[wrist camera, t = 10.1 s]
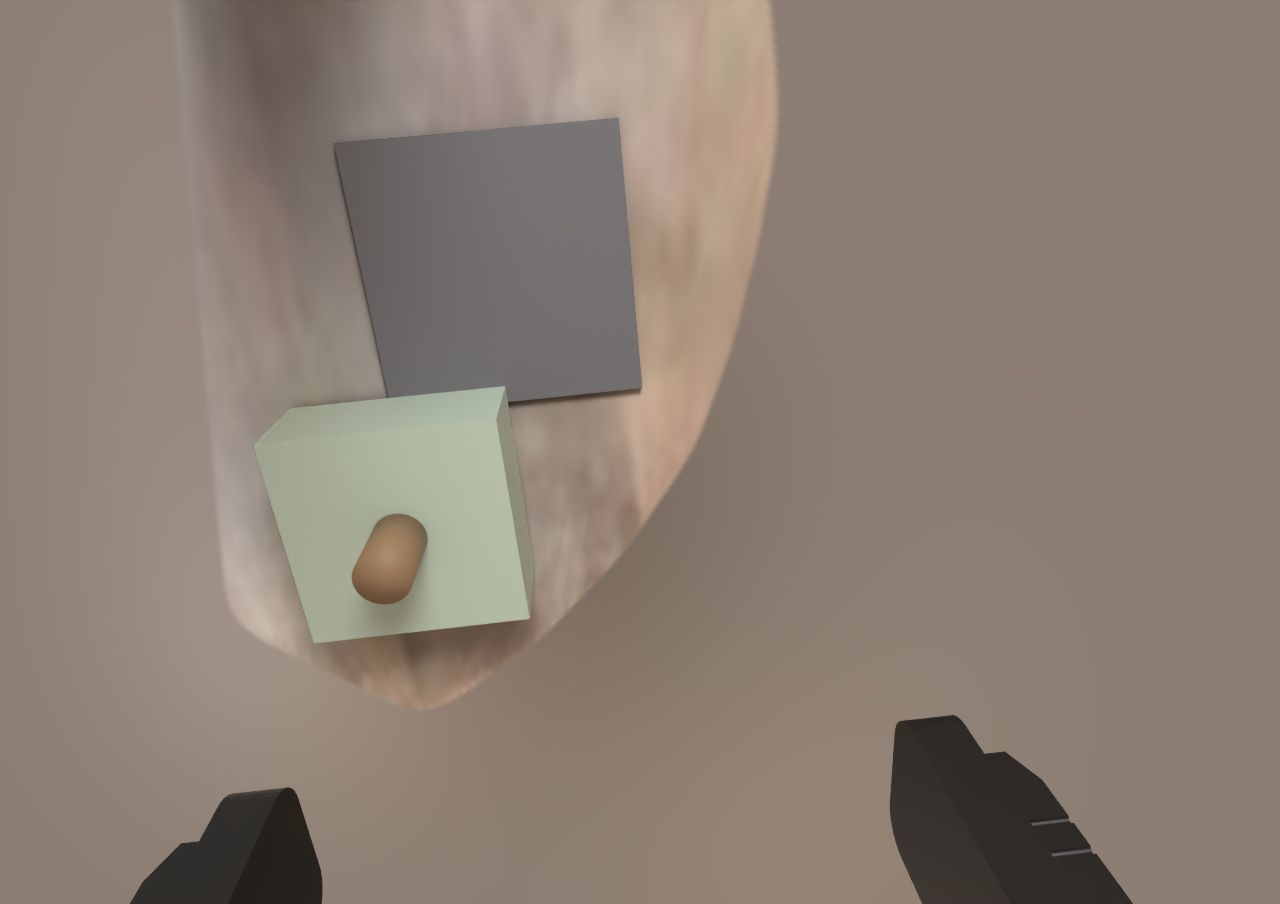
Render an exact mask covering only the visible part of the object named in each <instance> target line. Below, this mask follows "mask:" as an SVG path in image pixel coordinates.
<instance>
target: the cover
mask: <svg viewBox="0 0 1280 904" xmlns="http://www.w3.org/2000/svg"><path fill="white" fill-rule="evenodd" d="M253 447H254V451H255V454H256V457H257V460H258V464H259V467H260V470H261V473H262V477H263V480H264V483H265V486H266V490H267V493H268V496H269V499H270V503H271V506H272V509H273V512H274V516H275V519H276V522H277V525H278V529H279V532H280V535H281V538H282V542H283V545H284V548H285V551H286V555H287V558H288V561H289V564H290V568H291V571H292V574H293V577H294V581H295V584H296V587H297V590H298V594H299V597H300V600H301V603H302V607H303V610H304V613H305V616H306V620H307V623H308V626H309V629H310V633H311V636H312V639H313V642H314V643H323V642H332V641H341V640H349V639H358V638H367V637H376V636H384V635H393V634H402V633H411V632H419V631H428V630H437V629H446V628H454V627H463V626H472V625H481V624H490V623H498V622H507V621H516V620H525V619H530V611H531V601H532V590H533V580H534V569H535V567H534V561H533V555H532V549H531V542H530V536H529V530H528V524H527V518H526V511H525V505H524V499H523V493H522V487H521V480H520V474H519V468H518V462H517V455H516V449H515V443H514V437H513V431H512V424H511V418H510V412H509V406H508V399H507V393H506V387H505V386H501V387H491V388H481V389H472V390H462V391H452V392H442V393H433V394H423V395H413V396H404V397H394V398H384V399H374V400H365V401H355V402H345V403H336V404H326V405H316V406H307V407H297V408H290V409H289V410H288V411H287V412H286V413H285V414H284V415H283V416H282V417H281V418H280V419H279V420H278V421H277V422H276V423H275V424H274V425H273V426H272V427H271V428H270V429H269V430H268V431H267V432H266V433H265V434H264V435H263V436H262V437H261V438H260V439H259V440H258V441H256V442H255V443H254V444H253Z"/></svg>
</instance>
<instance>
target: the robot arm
mask: <svg viewBox="0 0 1280 904" xmlns="http://www.w3.org/2000/svg"><path fill="white" fill-rule="evenodd" d="M891 782H892V783H891V795H890V815H891V822H892V828H893V833H894V837H895V841H896V844H897V847H898V850H899V853H900V855H901V858H902V860H903V862H904V864H905V867H906V869H907V871H908V873H909V875H910V878H911V880H912V882H913V884H914V886H915V889H916V891H917V893H918V895H919V897H920V899H921V901H922V904H1133V903H1132V902H1131V900H1130V899H1129V898H1128V896H1127V895H1126V894H1125V892H1124V891H1123V889H1122V888H1121V887H1120V885H1119V884H1118V883H1117V882H1116V880H1115V879H1114V877H1113V876H1112V875H1111V873H1110V872H1109V871H1108V869H1107V868H1106V866H1105V865H1104V864H1103V862H1102V861H1101V859H1100V858H1099V857H1098V856H1097V854H1093V853H1092V851H1091V847H1090V844H1089V843H1088V842H1087V840H1086V839H1085V838H1084V836H1083V835H1082V834H1081V832H1080V831H1079V830H1078V828H1077V827H1076V825H1075V824H1074V823H1070V821H1069V817H1068V814H1067V813H1066V812H1065V810H1064V809H1063V808H1062V806H1061V805H1060V803H1059V802H1058V801H1057V799H1056V798H1055V797H1054V795H1053V794H1052V793H1051V791H1050V790H1049V788H1048V787H1047V786H1046V784H1045V783H1044V782H1043V780H1042V779H1040V778H1039V777H1038V776H1036V775H1035V774H1034V773H1032V772H1031V771H1030V770H1028V769H1027V768H1026V767H1024V766H1023V765H1022V764H1021V763H1019V762H1018V761H1017V760H1015V759H1014V758H1013V757H1011V756H1010V755H1009V754H1007V753H1006V752H997V753H988V754H984V753H983V751H982V750H981V748H980V747H979V745H978V744H977V742H976V741H975V739H974V738H973V736H972V735H971V733H970V732H969V730H968V729H967V727H966V726H965V724H964V723H963V722H962V721H961V720H960V719H959V718H958V717H957V716H954V715H950V716H941V717H932V718H923V719H914V720H905V721H900V722H898V723H897V725H896V729H895V738H894V752H893V766H892V781H891ZM130 904H322V876H321V870H320V866H319V863H318V859H317V857H316V853H315V850H314V847H313V844H312V840H311V838H310V834H309V831H308V828H307V825H306V822H305V818H304V815H303V812H302V809H301V805H300V802H299V799H298V796H297V794H296V793H295V791H294V790H293V789H292V788H280V789H270V790H261V791H253V792H243V793H234V794H230V795H228V796H226V797H225V798H224V799H223V800H222V801H221V803H220V804H219V806H218V808H217V809H216V811H215V813H214V815H213V817H212V819H211V821H210V823H209V824H208V826H207V828H206V830H205V832H204V833H203V835H202V837H201V839H200V841H199V842H190V843H182V844H180V845H179V846H178V847H177V848H176V849H175V850H174V851H173V852H172V853H171V854H170V855H169V856H168V857H167V858H166V859H165V860H164V861H163V862H162V863H161V864H160V865H159V866H158V867H157V868H156V869H155V870H154V871H153V872H152V873H151V874H150V875H149V876H148V877H147V878H146V879H145V880H144V881H143V882H142V884H141V886H140V888H139V889H138V891H137V893H136V894H135V896H134V898H133V899H132V901H131V903H130Z"/></svg>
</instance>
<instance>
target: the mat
mask: <svg viewBox="0 0 1280 904" xmlns="http://www.w3.org/2000/svg"><path fill="white" fill-rule="evenodd" d="M334 147H335V152H336V156H337V161H338V166H339V170H340V175H341V179H342V184H343V189H344V193H345V198H346V203H347V207H348V212H349V217H350V221H351V226H352V231H353V235H354V240H355V245H356V249H357V254H358V259H359V263H360V268H361V273H362V277H363V282H364V287H365V291H366V296H367V301H368V305H369V310H370V315H371V319H372V324H373V329H374V333H375V338H376V343H377V347H378V352H379V357H380V361H381V366H382V371H383V375H384V380H385V385H386V389H387V394H388V398H394V397H404V396H413V395H423V394H433V393H442V392H452V391H462V390H472V389H481V388H491V387H501V386H505V387H506V393H507V399H508V402H513V401H522V400H532V399H542V398H551V397H561V396H570V395H580V394H590V393H599V392H609V391H618V390H628V389H638V388H642V380H641V369H640V358H639V346H638V335H637V324H636V312H635V301H634V289H633V278H632V267H631V255H630V244H629V233H628V221H627V210H626V198H625V187H624V176H623V164H622V153H621V142H620V130H619V119H618V118H612V119H601V120H590V121H579V122H568V123H557V124H546V125H535V126H523V127H512V128H501V129H490V130H479V131H468V132H457V133H446V134H435V135H424V136H413V137H402V138H390V139H379V140H368V141H357V142H346V143H335V144H334Z"/></svg>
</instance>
